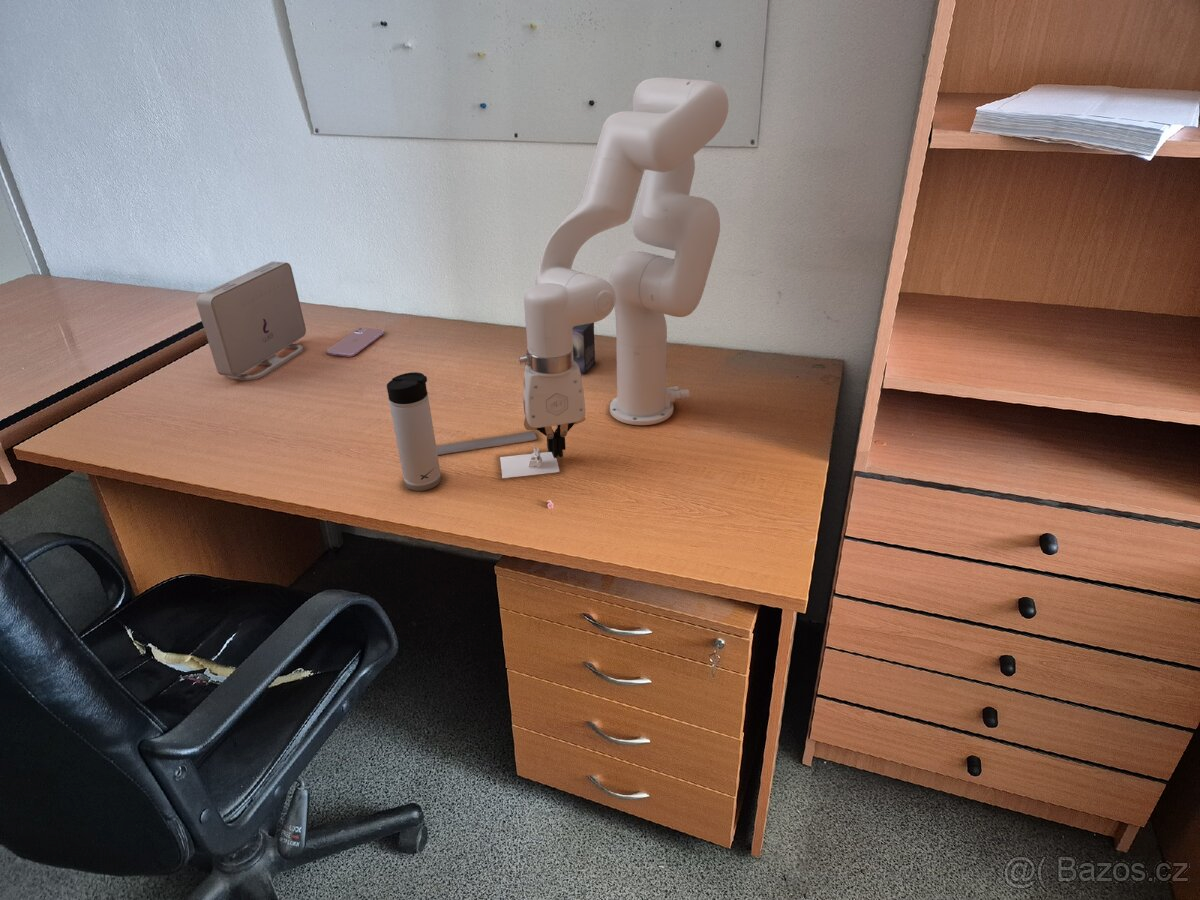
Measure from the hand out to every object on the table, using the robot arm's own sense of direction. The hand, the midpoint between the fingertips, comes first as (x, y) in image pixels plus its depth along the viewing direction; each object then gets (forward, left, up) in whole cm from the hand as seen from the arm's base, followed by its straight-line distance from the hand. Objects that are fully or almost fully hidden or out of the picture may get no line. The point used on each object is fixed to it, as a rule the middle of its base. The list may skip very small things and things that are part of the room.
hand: (556, 453), depth 139 cm
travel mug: (+24, 0, -2) cm, 24 cm away
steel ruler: (+12, -10, -1) cm, 16 cm away
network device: (+55, -62, -2) cm, 83 cm away
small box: (-11, -38, -2) cm, 40 cm away
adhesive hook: (+5, 0, -2) cm, 5 cm away
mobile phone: (+35, -66, -2) cm, 75 cm away
